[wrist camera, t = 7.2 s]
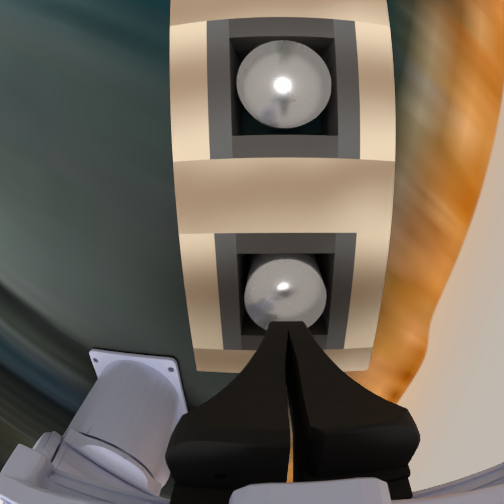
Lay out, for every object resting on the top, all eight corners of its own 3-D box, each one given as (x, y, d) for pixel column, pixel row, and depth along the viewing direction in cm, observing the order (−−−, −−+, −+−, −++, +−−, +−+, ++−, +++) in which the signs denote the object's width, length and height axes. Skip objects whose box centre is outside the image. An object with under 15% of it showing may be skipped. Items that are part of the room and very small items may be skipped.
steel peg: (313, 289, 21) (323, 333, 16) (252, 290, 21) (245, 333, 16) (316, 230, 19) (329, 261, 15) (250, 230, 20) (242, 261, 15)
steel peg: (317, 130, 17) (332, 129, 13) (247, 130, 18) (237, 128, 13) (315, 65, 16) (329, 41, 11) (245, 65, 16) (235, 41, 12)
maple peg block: (351, 324, 22) (367, 369, 17) (211, 325, 23) (197, 370, 18) (360, 25, 15) (385, -4, 10) (194, 26, 16) (170, -4, 11)
